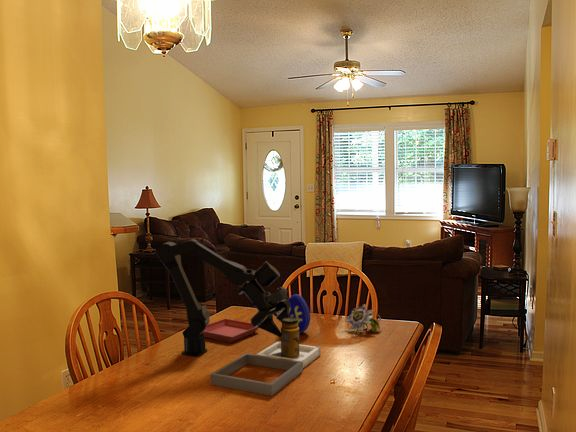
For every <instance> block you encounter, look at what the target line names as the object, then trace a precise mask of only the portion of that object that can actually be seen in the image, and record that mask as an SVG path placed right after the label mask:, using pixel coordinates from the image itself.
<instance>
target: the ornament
mask: <svg viewBox="0 0 576 432" xmlns="http://www.w3.org/2000/svg"><path fill="white" fill-rule="evenodd" d="M287 300H288V301H289V302H290V303H291V304H290V305H289V306H290V308H289V315H290V317H291V318H296V319H297V320H298V327H299V334H302V333H304V332H306V330H308V328H309V326H310V325H311V324H310V323H311V313H310V308H309V306H308V304H307V302H306V300H305V299H304V297H303V296H302V295H300V294H298V293H295V294H293V295H292V294H291V296H289V297H288V298H287ZM280 323H281V324H282V322H280Z"/></svg>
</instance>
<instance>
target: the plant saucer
mask: <svg viewBox="0 0 576 432" xmlns="http://www.w3.org/2000/svg"><path fill="white" fill-rule="evenodd" d="M259 325H260V324H259ZM259 325H258V326H259ZM258 326H257V327H258ZM257 327H255V328H254V326H253V325H252V324H251V322H245V321H242V320H241V321H239V320H235V319H230V318H223V319H219V320H217V321H215V322H212V323H211V322H210V323H209V324H208V326H207V327H206V328H205V329H204V331H203V332H202V334H204V338H208V339H212V340H218V341H223V342H226V343H233V342H236V341H238V340H240V339H243V338H245V337H247V336H250V335H253V334H255V333H256V332H257V331H258V330H259V328H257Z"/></svg>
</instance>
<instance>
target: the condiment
mask: <svg viewBox="0 0 576 432" xmlns="http://www.w3.org/2000/svg"><path fill="white" fill-rule="evenodd" d="M280 332H281V334H282V336H281V337H280V342H281V352H279V353H274V354H271V355H273V356H279V357H286V358H292V359H294V358H298V357H302V356H304V355H302V354H300V353H299V344H300V333H299V327H298V320H297V319H296V318H284V319H283V320H282V323H281V327H280Z"/></svg>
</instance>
